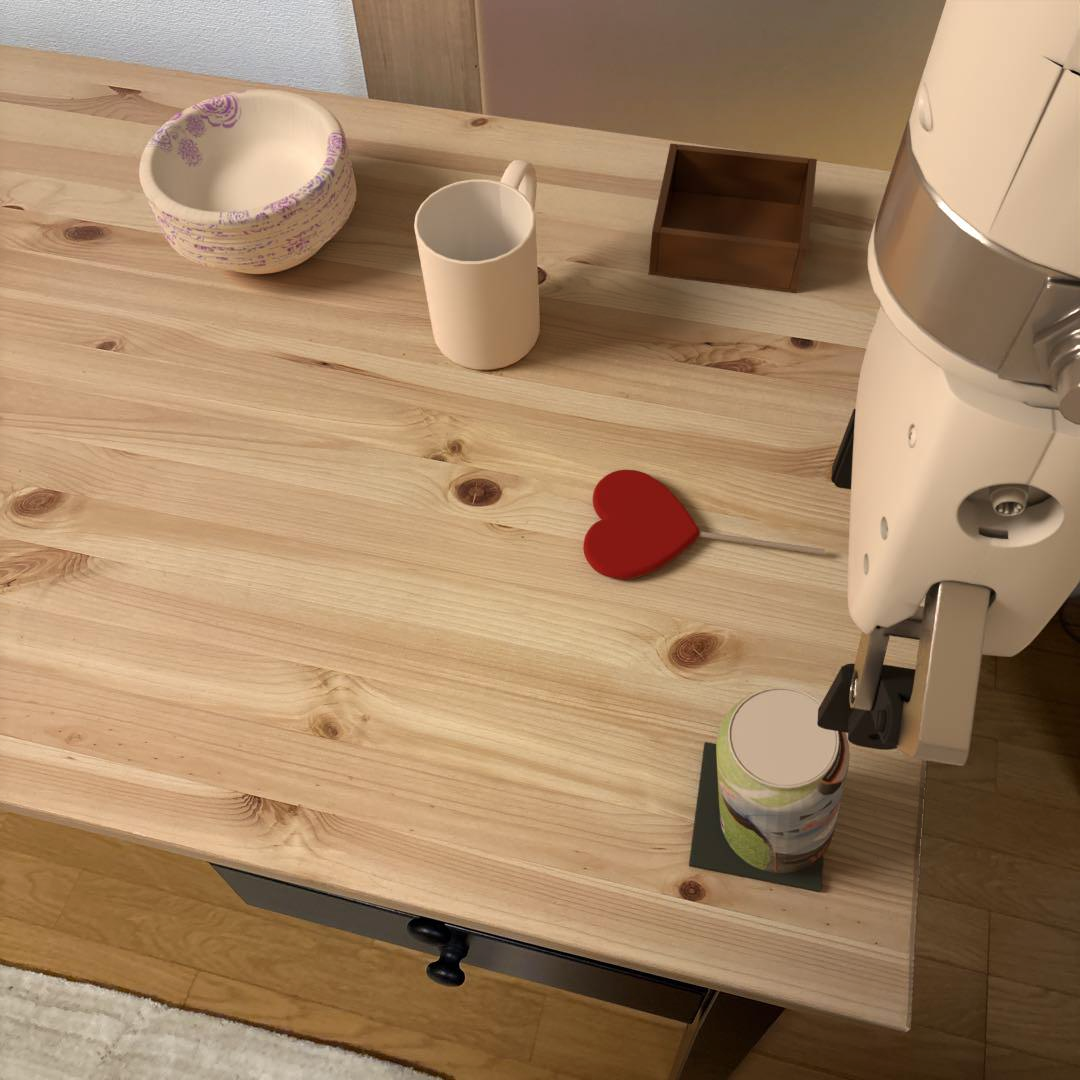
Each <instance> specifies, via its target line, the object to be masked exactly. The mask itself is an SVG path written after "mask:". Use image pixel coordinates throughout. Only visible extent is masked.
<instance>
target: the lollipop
mask: <svg viewBox="0 0 1080 1080" xmlns="http://www.w3.org/2000/svg"><path fill="white" fill-rule="evenodd" d="M592 505H593V506H592V507H593V510H594V512H595V513H596V515H597V517H599V520H598V521H595V522H594V523H593V524H592V525H591V526H590V527H589V529H588V530H587V532H586V533H585V536H584V538H583V539H584V540H583V545H582V546H583V554H584V558H585V559H586V562H587V563H588V564H589V566H590V567H591V568H592V569H593V570H594V571H595V572H596V573H598V574H599V575H602V576H604V577H606V578H610V579H615V580H629V579H630V580H631V579H635V578H639V577H643V576H645V575H648V574H651V573H653V572H655V571H657V570H659V569H660V568H662V567H664V566H665V565H667V564H669V563H670V562H672V561H673V560H675V559H676V558H677V557H679V556H680V555H681V554H682V553H684V552H685V551H686V550H687V549H688V548H689V547H691V546H692V544H694V542H695V541H697V539H698V538H704V539H712V540H719V541H726V542H733V543H738V544H739V543H740V544H747V545H754V546H759V547H768V548H773V549H774V548H775V549H781V550H787V551H795V552H801V553H808V554H814V555H815V554H816V555H820V556H821V555H822V556H825V549H824V548H819V547H817V548H816V547H810V546H804V545H798V544H790V543H783V542H777V541H771V540H763V539H756V538H750V537H742V536H737V535H730V534H729V535H728V534H723V533H722V534H721V533H717V532H716V533H715V532H708V531H703V530H700V528H699V527H698V525H697V522H695V520H694V519H693V517H692V516H691V514H690V512H689V511H688V509H687V508H686V506H685V505H684V503H682V501H681V500H680V499H679V498H678V497H677V496H676V495H675V494H674V492H673V491H671V489H670V488H668V486H666V484H664V483H662V482H661V481H660V480H658V479H657V478H655V477H653V476H652V475H650V474H648V473H645V472H644V471H641V470H635V469H618V470H615V471H612V472H610V473H607V474H606V475H605V476H603V477H602V478H601V479H600V480H599V481H598V482H597V484H596V485H595V487H594V490H593V493H592Z"/></svg>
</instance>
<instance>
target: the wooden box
mask: <svg viewBox="0 0 1080 1080" xmlns="http://www.w3.org/2000/svg"><path fill="white" fill-rule="evenodd" d="M817 164H818V159H817V158H808V157H803V156H802V157H800V156H794V155H793V156H791V155H782V154H772V153H763V152H757V151H756V152H755V151H754V152H752V151H745V150H736V149H728V148H718V147H708V146H699V145H691V144H680V143H673V142H671V143H670V144H669V148H668V153H667V158H666V162H665V168H664V171H663V172H664V173H663V176H662V182H661V187H660V192H659V196H658V200H657V205H656V210H655V215H654V219H653V225H652V229H651V230H652V231H651V239H650V249H649V250H650V251H649V262H648V275H650V276H658V277H666V278H674V279H681V280H689V281H690V280H691V281H698V282H707V283H714V284H722V285H730V286H738V287H744V288H745V287H746V288H753V289H760V290H761V289H762V290H769V291H776V292H777V291H779V292H784V293H785V292H786V293H793V294H797V293H798V291H799V286H800V282H801V278H802V274H803V271H804V268H805V263H806V259H807V256H808V253H809V245H810V234H811V227H812V226H811V225H812V224H811V223H812V216H813V215H812V214H813V206H814V205H813V204H814V195H815V184H816V175H817Z"/></svg>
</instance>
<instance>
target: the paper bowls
mask: <svg viewBox="0 0 1080 1080" xmlns="http://www.w3.org/2000/svg"><path fill="white" fill-rule="evenodd" d="M348 147H349V146H348V142H347V138H346V134H345V132H344V128H343V126H342V124H341V123H340V121H339V120H338V119H337V117H336V116H335V115H334V114H333V113H332V112H331V111H330V109H328V108H327V107H326V106H325V105H322V103H320V102H319V101H316V100H315V99H313V98H310V97H308V96H307V95H306V96H305V95H304V94H301V93H298V92H293V91H288V90H280V89H269V88H255V89H244V90H237V91H230V92H226V93H222V94H219V95H216V96H215V95H214V96H212V97H210V98H206V99H203V100H201V101H199V102H197V103H195V104H193V105H191V106H189V107H187V108H185V109H183V110H181V111H180V112H178V113H176V114H175V115H174V116H172V117H171V118H169V119H168V120H167V121H166V122H165V123H163V124H162V125H161V126H160V127H159V128H158V130H156V132H155V133H154V134H153V135H152V136H151V138H150V139H149V141H148V142H147V143H146V145H145V147H144V149H143V152H142V154H141V157H140V162H139V167H138V168H139V171H138V173H139V174H138V176H139V182H140V186H141V189H142V190H143V193H144V195H145V198H146V199H147V203H148V204H149V206H150V209H151V211H152V213H153V215H154V217H155V220H156V222H157V224H158V226H159V228H160V230H161V232H162V234H163V236H164V238H165V239H166V241H167V242H168V243H169V245H170V247H172V249H174V250H175V252H177V253H178V254H179V255H180V256H182V258H183V257H184V258H185V259H187V260H189V261H191V262H193V263H195V264H199V265H200V266H204V267H208V268H213V269H217V270H223V271H231V272H232V271H233V272H237V273H240V274H241V273H242V274H249V275H265V274H266V275H267V274H268V275H269V274H275V273H279V272H284V271H286V270H288V269H291V268H294V267H296V266H299V265H300V264H302V263H304V262H305V261H307V260H309V259H310V258H311V257H313V256H314V255H315V254H316V253H317V252H318V251H320V249H322V248H323V246H324V245H325V244H327V242H329V241H330V240H331V239H333V237H334V236H336V234H337V233H338V232H339V231H340V230H341V229H342V228H343V227H344V225H345V224H346V223H347V222H348V220H349V217H350V216H351V213H352V211H353V209H354V207H355V204H356V200H357V185H356V178H355V174H354V173H355V172H354V169H353V164H352V161H351V157H350V151H349V149H348Z"/></svg>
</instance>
